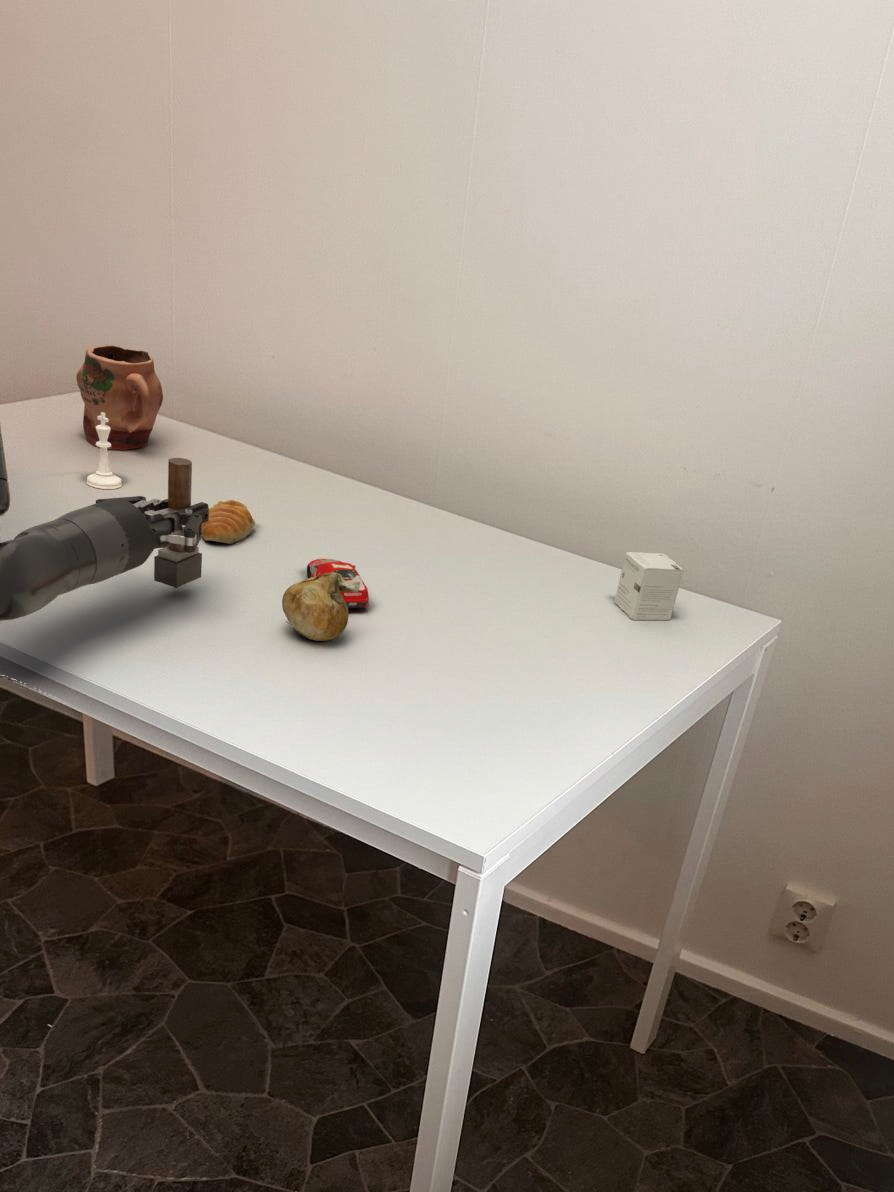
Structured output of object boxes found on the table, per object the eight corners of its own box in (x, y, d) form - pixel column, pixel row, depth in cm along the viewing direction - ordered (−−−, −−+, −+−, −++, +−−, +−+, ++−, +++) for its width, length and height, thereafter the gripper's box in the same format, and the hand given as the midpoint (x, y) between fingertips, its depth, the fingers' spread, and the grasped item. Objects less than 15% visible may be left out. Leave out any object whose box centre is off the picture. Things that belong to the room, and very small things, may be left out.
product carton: (613, 602, 162) (624, 550, 158) (651, 603, 164) (664, 552, 160) (632, 620, 157) (644, 567, 153) (672, 621, 160) (685, 568, 156)
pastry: (239, 550, 157) (240, 522, 155) (189, 542, 157) (189, 514, 155) (256, 529, 165) (257, 502, 163) (208, 521, 165) (209, 494, 163)
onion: (304, 616, 142) (309, 552, 137) (360, 637, 139) (367, 572, 135) (266, 634, 136) (270, 567, 132) (324, 656, 133) (330, 589, 129)
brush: (176, 588, 138) (178, 468, 131) (153, 580, 139) (154, 461, 132) (201, 577, 142) (205, 460, 135) (179, 569, 143) (181, 453, 136)
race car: (302, 574, 153) (304, 544, 151) (342, 574, 156) (344, 545, 153) (329, 614, 144) (331, 582, 141) (371, 614, 146) (375, 583, 143)
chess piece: (104, 491, 169) (103, 419, 163) (79, 482, 170) (76, 410, 165) (129, 485, 172) (128, 415, 167) (104, 476, 174) (102, 406, 169)
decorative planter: (189, 461, 186) (190, 369, 179) (117, 466, 179) (116, 370, 171) (126, 425, 198) (125, 337, 190) (56, 429, 190) (52, 337, 183)
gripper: (152, 525, 121) (246, 491, 135) (43, 490, 125) (145, 460, 139) (152, 594, 125) (243, 554, 139) (46, 558, 129) (145, 522, 143)
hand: (193, 507), depth 139 cm, fingers closed on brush, 2 cm apart
